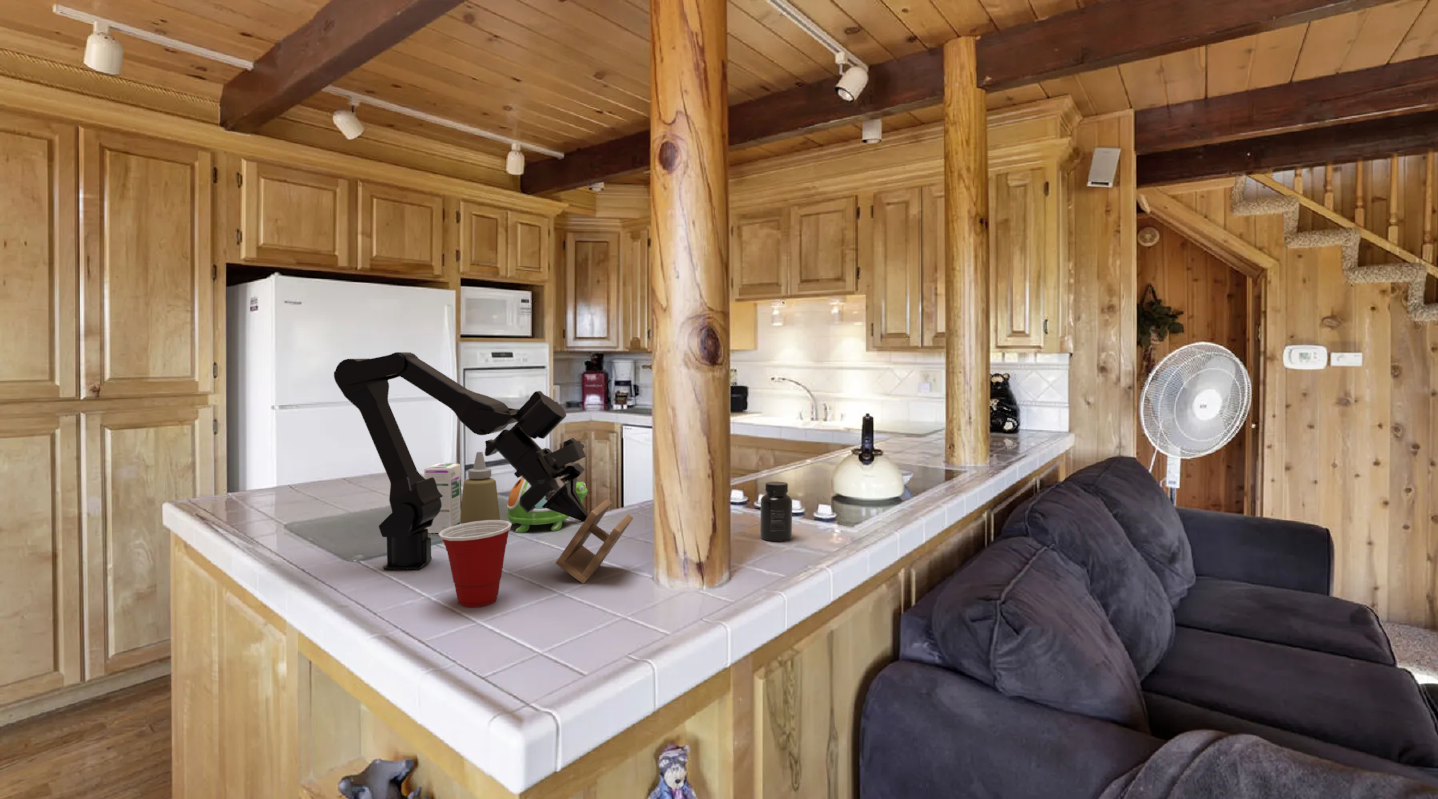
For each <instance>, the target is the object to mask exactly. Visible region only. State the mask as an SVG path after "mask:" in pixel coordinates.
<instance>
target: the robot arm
mask: <svg viewBox="0 0 1438 799" xmlns="http://www.w3.org/2000/svg"><path fill="white" fill-rule="evenodd" d="M333 378H334V382H335V383H336V385H337V387H338V388H339V390H340V392H341V393H342V395H343V396H344V397H345V398H346V399H347V400H348V401H349V402H350V403H351V404H352V405H353V406H354V407H355V408H357V409H358V411H359V412H360V415H361V416H362V419H363V421H364V424H365V426H366V429H367V431H368V433H369V435H370V438H371V439H372V443H373V445H374V447H375V449H376V451H377V455H378V456H379V459H380V462H381V464H382V466H383V468H384V470H385V473H386V476H387V478H388V480H389V483H390V484H389V486H390V488H389V497H388V498H389V499H388V501H389V506H390V509H391V513H390V514H389V515H388V516H387V517H386V518H384V520H383V521H382V522H381V523H380V524H379V525H378V529H379V532H380V534H381V537H383V538H386V561H387V562H386V564H385V565H383V567H382V569H383V570H421V569H422V568H423V567H424V566H425V565H426V564H428V563H429V562H430V561H431V560H433V559H432V538H431V537H429V533H428V529H426V528H427V527H430V526H432V523H433V520H434V518H435V517H436V516H437V515H438V514H439V512H440V509H441V507H442V503H441V499H440V498H441V497H443V496H442V494H441V493H440V492H439V491H438V489H437V485H436V481H435V479H434V478H433V477H431V478H428V479H425V477H424V476H423V475H422V474H421V473H419V471H418V469H417V466H416V464H415V462H414V459H413V457H412V454H411V453H410V451H409V448H408V445H407V443H406V440H405V438H404V436H403V434H402V432H401V431H402V430H401V429H400V427H399V424H398V422H397V420H396V417H395V415H394V413H393V410H392V408H391V405H390V403H389V389H390V383H389V380H393V379H396V378H401V379H404V380H405V381H407V382H408V383H410V384H411V385H412V386H414V387H416V388H418V389H419V390H421V391H422V392H423V393H425V394H426V395H428V396H431V398H433V399H435V400H436V401H438V402H440V403H441V404H443V405H445V406H446V407H448V408H449V409H450V410H451V411H452V412H454V414H455V416H456V417H457V419H458V420H459V421H460V422H461V423H462V424H463V425H464V426H465V427H466V428H467V429H469V430H470V431H471V432H472V433H473V434H474V435H478V436H486V435H491V434H494V433H497V432H499V434H498V435H497V436H495V438H494V439H492V438H491V439H488V440H487V439H486V440H485V442H484V443H485V448H484V456H485V457H490V456H493V455H495V454H497V452H498V453H499V454H500V455H501V456H502V457H503V458H504V459H505V460H506V461H507V463H508V464H510V465H511V466H512V467H513V468H514V470H516V471H515V472H513V475H514V476H515V477H516V478H517V479H520V478H521V477H523V478H524V479H525V480H526V481H527V482H528V483H529V484H530V485H531V487H530V488H529V489H528V490H527V491H526V492H525V493H524V494H523V495H522V496H521V497H520V506H521V507H522V508H523V509H524V510H525V511H526V512H527V513H529V512H530V511H532V510H534V509H535V508H536V507H535V505H536V504H538V503H539V502H540V501H541V500H542V499H543V498H544V496H545V497H546V498H545V500H546V501H547V502H546V503H545V504H544V505H543V506H542V508H547V509H550V510H553V511H556V512H559V513H561V514H564V515H567V516H569V517H568V518H571V519H574V520H577V521H579V522H583V523H584V521H585V520H586V518H587V517H588V515H589V514H588V512H587V510H586V508H585V507H584V503H583V504H582V502H581V500H580V498H579V496H578V494H577V492H576V483H577V482H578V478H579V477H580V476H581V475H582V474H583V473H584V472H585V471H586V469H585V468H584V467H583V466H582V465H581V464H580V463H579V462H578V461H579V460H582V459H583V458H587V455H586V452H585V450H584V448H585V445H584V444H583V443H581V440H576V439H575V438H574V437H571V438H570V439H567V440H565V441H563V442H562V445H563V446H562V447H561V448H559V449H557V450H555V451H552V450H551V449H550V448H548V447H547V448H546V447H545V448H542V447H541V446H539V444H538V443H537V442H536V441H535V440H537V439H538V438H539V439H545V438H547V436H548V435H549V434H550V433H551V432H552V431H553V430H555V428H557V426H558V425H559V424H560V423H561V422H562V421H563V420H565V418H566V417H567V412H566V411H565V409H564V407H563V406H562V405H561V404H560V403H559V402H557V401H555V400H553V399H552V398H551V397H550V396H548V395H546V394H545V393H543V391H541V390H536V391H534V392H533V393H532V395H531V396H530V397H529V399H528V400H527V401H526V402H525V403H524V404H523V405H522V406H521V407H520V408H511V407H508V405H507V404H505V402H502V401H501V400H498V399H495V398H493V397H491V396H489V395H487V394H483V393H482V394H481V393H478V392H475V391H472V390H470V389H468V388H466V387H464V386H463V385H461V384H460V383H459V382H456V381H455V380H453V379H452V378H450V377H449V376H448V375H445V374H444V373H443V372H441V371H439V370H438V369H436V368H434V367H433V366H432V365H429V363H427V362H425V361H423V360H422V359H420V358H419V357H418V356H417V354H415V353H412V352H409V351H407V352H405V351H402V352H398V351H396V352H393V353H391V354H388V355H384V356H378V357H373V358H347V359H343V360H341V361H340V362H338V364H337V366H336V368H335V371H334V372H333ZM514 423H515V424H514ZM511 424H514V425H513V426H512V427H511V428H510V429H507V426H509V425H511ZM534 439H535V440H534Z"/></svg>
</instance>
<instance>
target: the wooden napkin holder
mask: <svg viewBox="0 0 1438 799" xmlns="http://www.w3.org/2000/svg"><path fill="white" fill-rule="evenodd" d="M612 505H613V502H612V501H611V500H610V499H608V498H607V499H605V500H604V501H602V502H601V503H600V504H598V505H597V506H596V507H595V508H594V509H592V510H591V511H590V513H589V514H588V517H587V518H586V520H585V521H584V522H583V523H582V524H581V526H580V527H579V528H578V530H577V531H576V533H575V534H574V536H573V537H572V538H571V540H570V541H569V543H568V544H567V545H566V547H565V549H563V551H562V553H561V554H560V556H559V557H558V558H557V560H556V562H555V564H556V565H557V566H558V567H560V568H561V569H562V570H564V571H565V572H566V573H568V574H570V576H572V577H573V578H575V579H576V581H579V582H580V583H581V584H583V585H584V584H585V583H586V582H587V581H588V579H589V578H590V577H591V576H592V575H593V574H594V573H595V572H596V571H597V569H598V568H599V567H601V564H602V563H603V562H604V561H605V559H606V558H607V556H608V555H609V553H610V552H611V550H612V549H613V548H614V547H615V545H616V543H617V542H618V540H619V539H620V538H621V536H622V535H623V534H624V532H625V531H626V529H627V528H628V527H629V525H630V524H631V522H632V521H633V519H634V517H633V516H631V515H630V514H629V513H628V514H626V515H625V517H624V518H622V519H621V521H620V522H619V523H617V525H616V526H614V528H613V529H612V531H611V532H610V533H608V532H606V531H605V530H603V528H601V527H599V526H598V524H599V523H600V521H601V519H603V517H604V515H605V514H606V513H607V511H608V510H609V508H610V507H611V506H612ZM591 534H592V535H593V536H595V537H596V538H597V539H599V540H600V541H602V542H603V543H602V545H601V546H600V548H599V549H598V550H597V552H596V553H593V551H591V550H589V549H588V548H587V547H585V546H584V544H585V542H586V541H587V540H588V539H589V537H590V535H591Z"/></svg>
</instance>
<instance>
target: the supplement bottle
mask: <svg viewBox="0 0 1438 799" xmlns="http://www.w3.org/2000/svg"><path fill="white" fill-rule="evenodd" d="M764 491H765V494H764V495H763V496H761V499H760V525H759V526H760V527H759V528H760V531H759V532H760V534H759V536H760V538H761V539H763V540H764V541H766V542H767V541H768V542H775V541H781V542H786V540H787V541H789V540H791V539H790V538H792V536H793V499H792V497H791V496H790V495H789V494H788V492H789V484H788V483H787V482H784V481H768V482H767V481H766V482H765V489H764Z"/></svg>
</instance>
